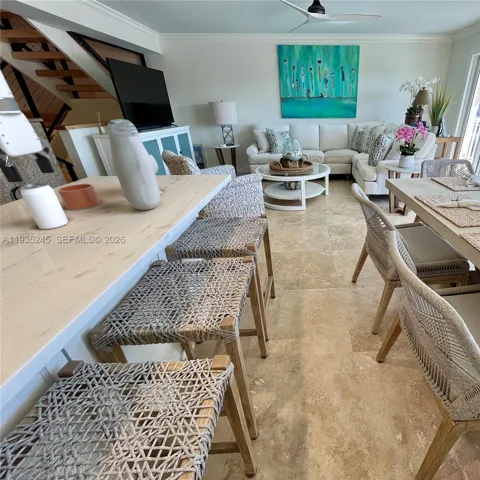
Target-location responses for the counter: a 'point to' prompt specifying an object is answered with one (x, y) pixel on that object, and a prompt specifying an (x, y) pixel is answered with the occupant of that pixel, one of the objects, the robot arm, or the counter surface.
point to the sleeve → (79, 196)
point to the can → (44, 206)
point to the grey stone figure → (133, 165)
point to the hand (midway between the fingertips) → (33, 177)
